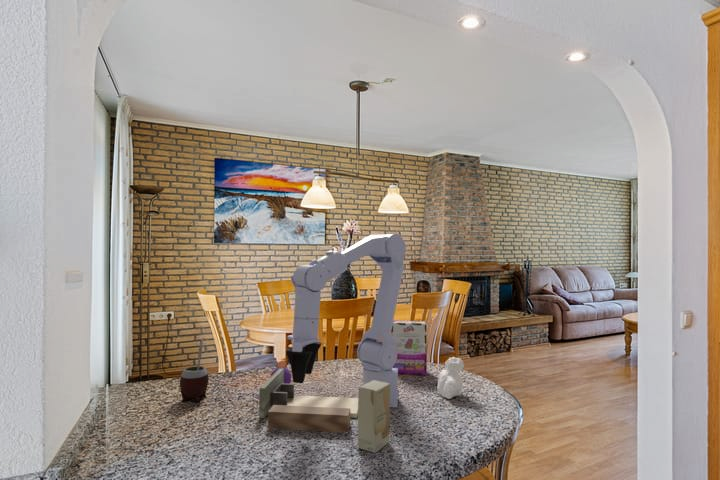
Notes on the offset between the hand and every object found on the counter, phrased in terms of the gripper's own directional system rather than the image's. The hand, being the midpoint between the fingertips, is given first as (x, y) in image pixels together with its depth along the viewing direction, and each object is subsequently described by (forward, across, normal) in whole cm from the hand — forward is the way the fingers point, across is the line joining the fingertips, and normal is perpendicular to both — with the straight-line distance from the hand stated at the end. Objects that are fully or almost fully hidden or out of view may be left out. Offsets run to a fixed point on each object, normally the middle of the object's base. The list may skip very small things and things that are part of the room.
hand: (302, 377), depth 94 cm
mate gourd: (+12, -13, -32) cm, 36 cm away
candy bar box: (+8, -44, +25) cm, 51 cm away
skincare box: (+10, +7, +17) cm, 21 cm away
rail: (+11, 0, +2) cm, 11 cm away
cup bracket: (+10, -11, +1) cm, 15 cm away
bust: (+8, -25, +36) cm, 45 cm away
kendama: (+10, -31, -14) cm, 36 cm away
